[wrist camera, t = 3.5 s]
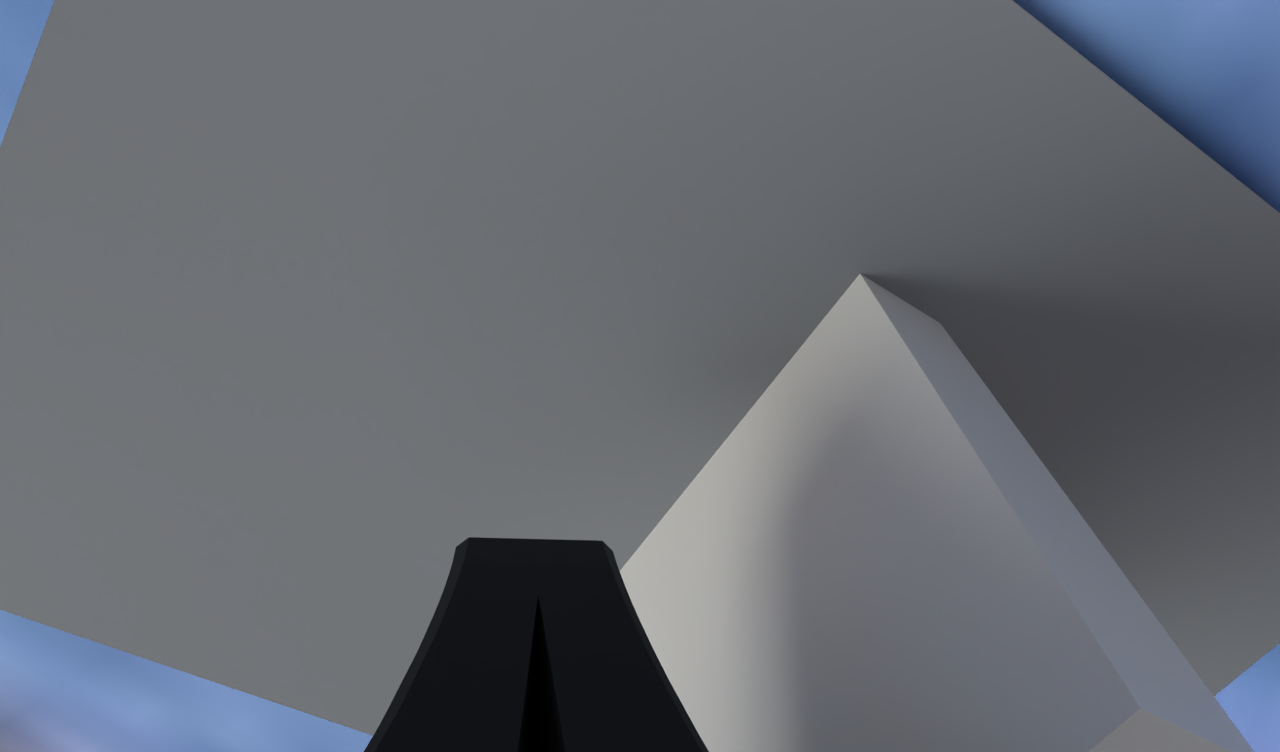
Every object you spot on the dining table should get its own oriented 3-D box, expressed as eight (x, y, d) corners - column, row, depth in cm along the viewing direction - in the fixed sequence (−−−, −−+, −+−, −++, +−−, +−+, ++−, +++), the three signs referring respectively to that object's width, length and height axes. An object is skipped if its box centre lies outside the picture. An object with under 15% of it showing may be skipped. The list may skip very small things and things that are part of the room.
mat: (1518, 407, 16) (1546, 425, 15) (924, 901, 21) (933, 924, 21) (284, -572, 9) (271, -590, 8) (-131, 534, 14) (-152, 558, 14)
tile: (948, 328, 14) (1280, 776, 8) (655, 663, 16) (727, 1188, 10) (860, 273, 13) (1141, 707, 7) (572, 630, 16) (596, 1163, 10)
